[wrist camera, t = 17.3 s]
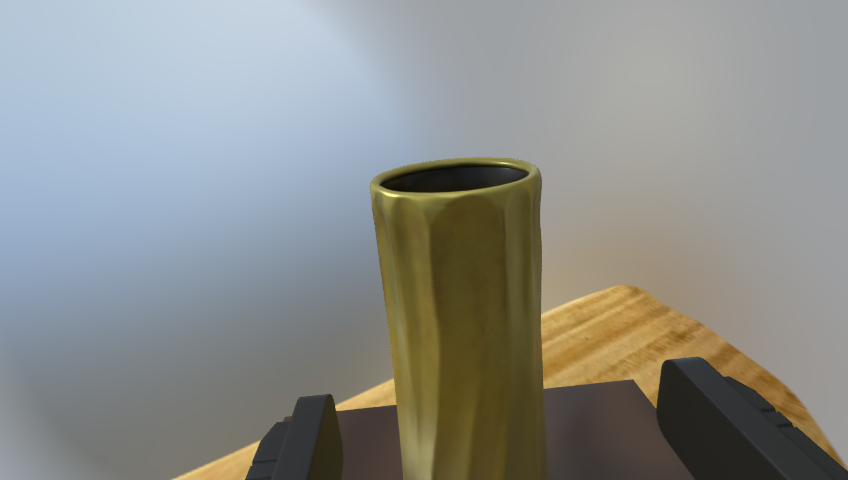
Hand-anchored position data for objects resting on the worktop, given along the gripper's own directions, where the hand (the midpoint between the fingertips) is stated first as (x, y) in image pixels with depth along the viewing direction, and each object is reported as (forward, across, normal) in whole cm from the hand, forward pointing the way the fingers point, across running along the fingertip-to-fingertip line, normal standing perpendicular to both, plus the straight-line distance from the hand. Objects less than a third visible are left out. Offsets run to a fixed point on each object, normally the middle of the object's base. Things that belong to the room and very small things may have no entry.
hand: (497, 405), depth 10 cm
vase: (+5, 0, +10) cm, 11 cm away
